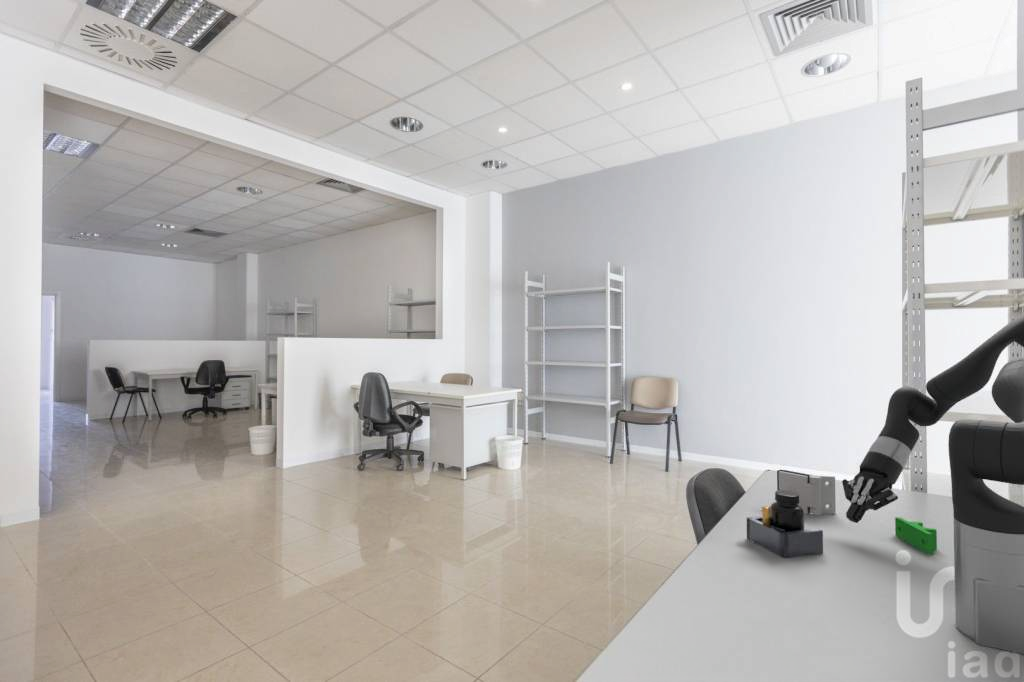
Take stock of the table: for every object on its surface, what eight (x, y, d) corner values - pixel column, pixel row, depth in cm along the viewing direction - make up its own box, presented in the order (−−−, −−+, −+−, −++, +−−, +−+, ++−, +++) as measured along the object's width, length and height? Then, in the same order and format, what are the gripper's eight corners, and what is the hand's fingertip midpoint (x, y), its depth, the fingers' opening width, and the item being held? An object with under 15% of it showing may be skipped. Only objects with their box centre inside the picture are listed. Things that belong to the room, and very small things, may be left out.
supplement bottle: (770, 548, 113) (769, 494, 113) (770, 538, 119) (769, 487, 119) (805, 554, 110) (804, 498, 110) (803, 543, 116) (802, 490, 116)
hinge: (836, 513, 137) (835, 476, 137) (832, 518, 133) (832, 480, 133) (779, 503, 146) (779, 468, 146) (774, 508, 142) (774, 472, 142)
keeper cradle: (783, 534, 121) (782, 497, 121) (823, 553, 110) (822, 511, 110) (746, 538, 118) (745, 500, 119) (783, 558, 107) (782, 515, 108)
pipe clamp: (946, 556, 109) (946, 534, 109) (927, 555, 109) (927, 534, 109) (912, 536, 120) (912, 517, 120) (895, 535, 121) (895, 516, 121)
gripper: (923, 474, 115) (889, 538, 112) (869, 464, 128) (836, 521, 125) (903, 454, 114) (867, 518, 111) (850, 446, 127) (817, 503, 123)
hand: (851, 520), depth 118 cm, fingers closed
